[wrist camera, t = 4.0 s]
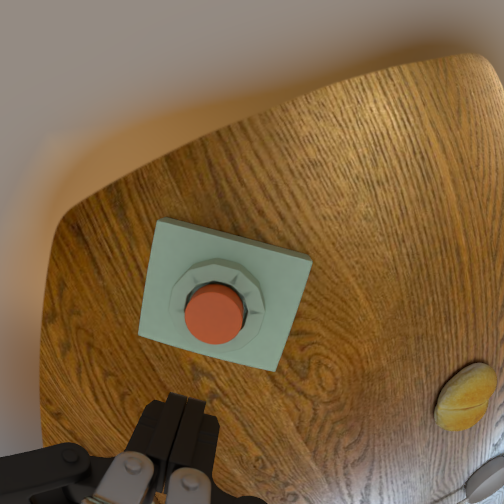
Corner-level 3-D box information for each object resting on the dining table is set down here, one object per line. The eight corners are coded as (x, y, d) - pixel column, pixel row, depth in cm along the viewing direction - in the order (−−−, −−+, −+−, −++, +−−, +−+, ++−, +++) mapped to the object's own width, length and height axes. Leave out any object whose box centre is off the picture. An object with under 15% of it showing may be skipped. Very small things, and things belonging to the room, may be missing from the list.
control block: (145, 324, 28) (130, 345, 24) (165, 216, 25) (149, 223, 21) (274, 358, 28) (275, 384, 24) (308, 254, 26) (317, 268, 22)
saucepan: (504, 470, 34) (512, 482, 30) (425, 515, 36) (431, 529, 32) (513, 442, 32) (523, 454, 28) (425, 494, 34) (432, 510, 30)
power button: (185, 325, 23) (179, 336, 22) (195, 277, 23) (190, 285, 21) (236, 339, 24) (234, 351, 22) (249, 291, 23) (249, 300, 21)
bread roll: (496, 355, 28) (514, 371, 24) (473, 413, 30) (487, 430, 26) (445, 364, 28) (462, 384, 24) (423, 425, 30) (435, 446, 26)
